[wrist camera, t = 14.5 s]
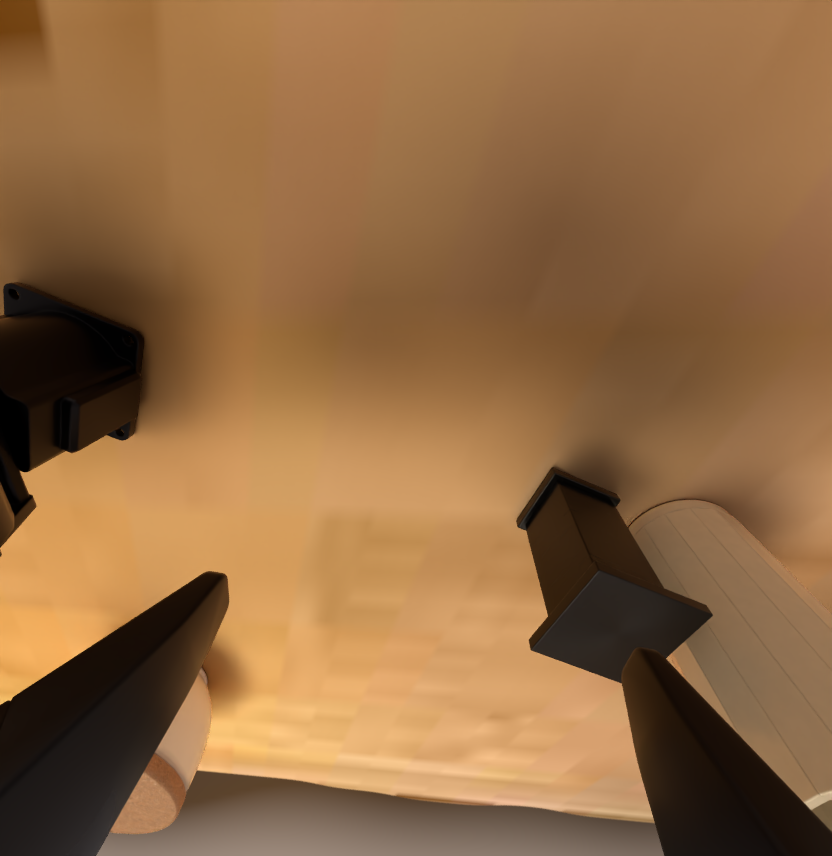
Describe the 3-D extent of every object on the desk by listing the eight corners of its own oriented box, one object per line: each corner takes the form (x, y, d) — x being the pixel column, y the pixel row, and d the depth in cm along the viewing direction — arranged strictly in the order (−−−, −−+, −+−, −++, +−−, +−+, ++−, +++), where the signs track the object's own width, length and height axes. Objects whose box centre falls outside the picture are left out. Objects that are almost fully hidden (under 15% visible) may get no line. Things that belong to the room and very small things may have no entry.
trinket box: (245, 720, 34) (177, 878, 26) (124, 706, 35) (18, 857, 26) (224, 633, 30) (133, 791, 21) (84, 619, 30) (-59, 768, 22)
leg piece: (506, 523, 24) (530, 650, 16) (549, 458, 22) (598, 570, 14) (578, 552, 24) (633, 688, 17) (628, 491, 22) (714, 615, 15)
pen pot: (597, 563, 24) (724, 847, 13) (665, 482, 22) (899, 751, 10) (687, 598, 25) (883, 899, 14) (764, 524, 22) (1086, 821, 11)
